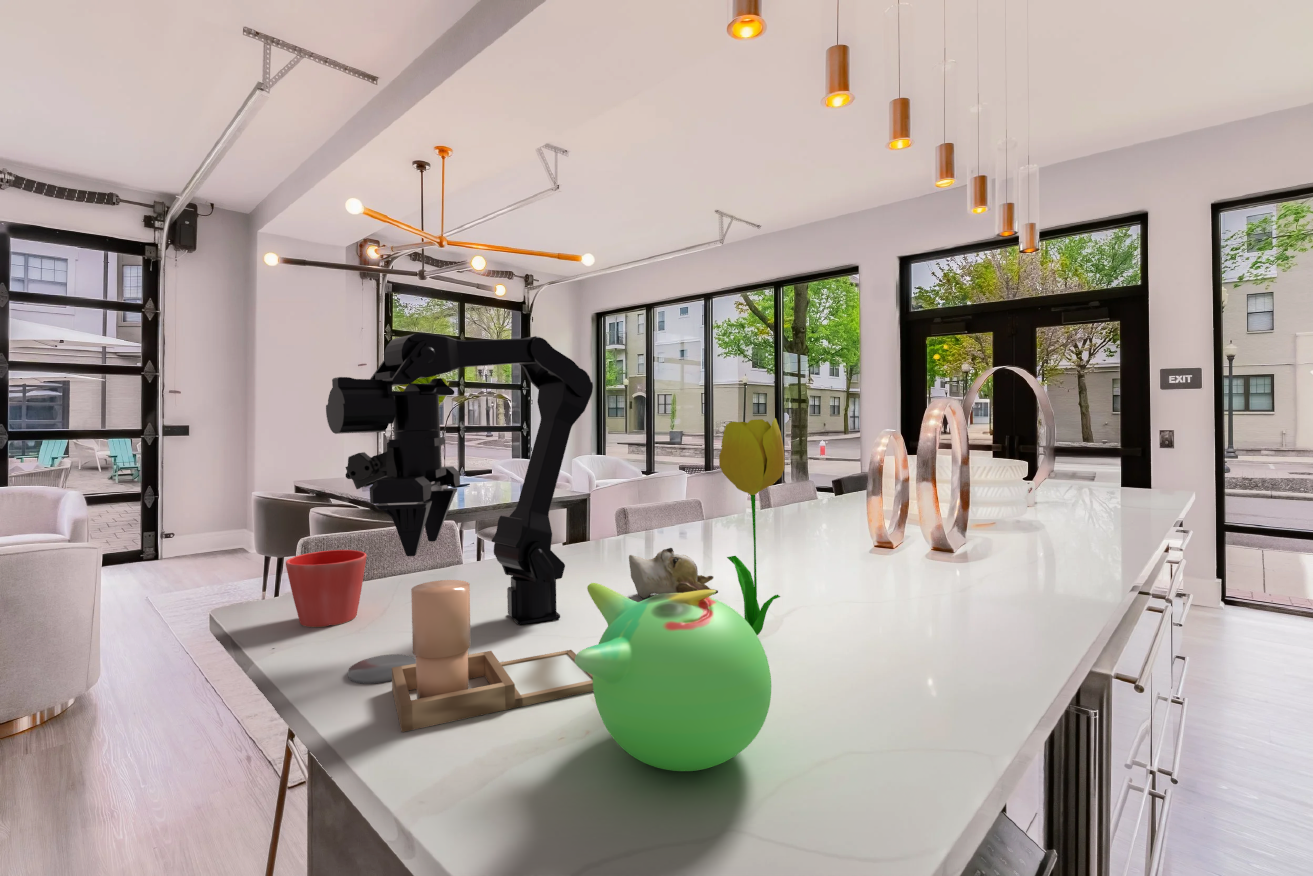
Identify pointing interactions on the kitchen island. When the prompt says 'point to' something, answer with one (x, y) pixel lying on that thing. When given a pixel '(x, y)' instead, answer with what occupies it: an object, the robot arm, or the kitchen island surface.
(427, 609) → the tan stacked cylinder
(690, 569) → the ceramic sculpture
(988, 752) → the kitchen island surface
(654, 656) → the green round bird toy
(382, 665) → the slate saucer
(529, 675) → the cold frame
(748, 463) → the flower
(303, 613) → the flower pot
